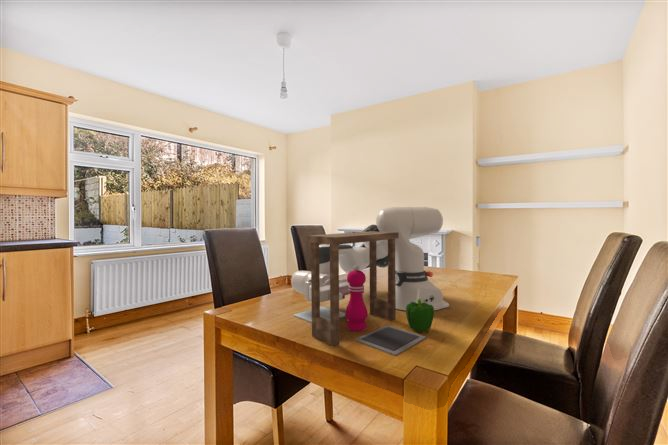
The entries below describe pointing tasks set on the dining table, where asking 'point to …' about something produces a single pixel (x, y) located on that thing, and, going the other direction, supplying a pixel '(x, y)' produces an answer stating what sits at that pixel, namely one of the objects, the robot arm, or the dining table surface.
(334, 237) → the walnut tunnel
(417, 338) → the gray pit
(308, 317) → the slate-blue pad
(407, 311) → the bell pepper
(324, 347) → the dining table surface
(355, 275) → the pepper mill
